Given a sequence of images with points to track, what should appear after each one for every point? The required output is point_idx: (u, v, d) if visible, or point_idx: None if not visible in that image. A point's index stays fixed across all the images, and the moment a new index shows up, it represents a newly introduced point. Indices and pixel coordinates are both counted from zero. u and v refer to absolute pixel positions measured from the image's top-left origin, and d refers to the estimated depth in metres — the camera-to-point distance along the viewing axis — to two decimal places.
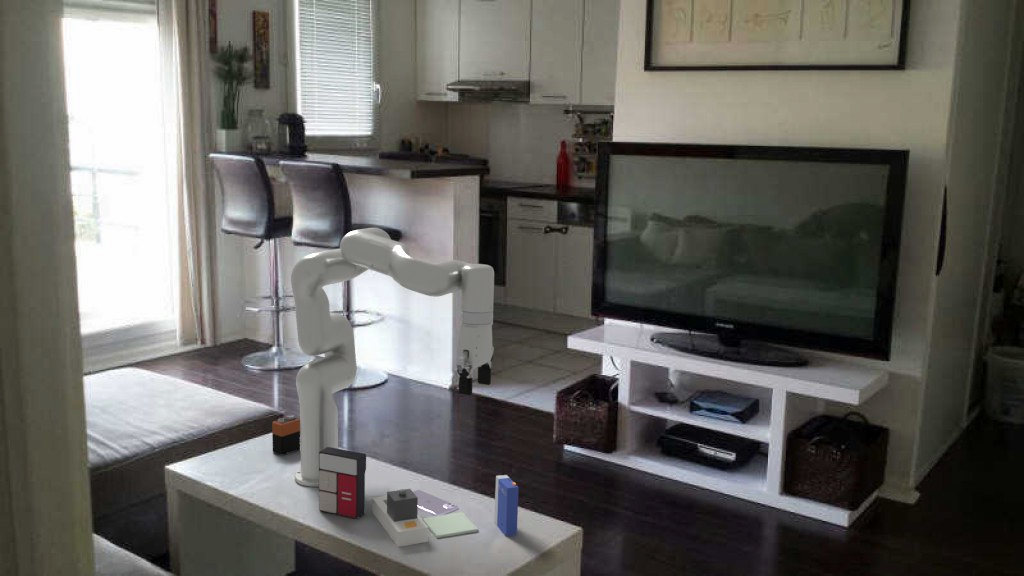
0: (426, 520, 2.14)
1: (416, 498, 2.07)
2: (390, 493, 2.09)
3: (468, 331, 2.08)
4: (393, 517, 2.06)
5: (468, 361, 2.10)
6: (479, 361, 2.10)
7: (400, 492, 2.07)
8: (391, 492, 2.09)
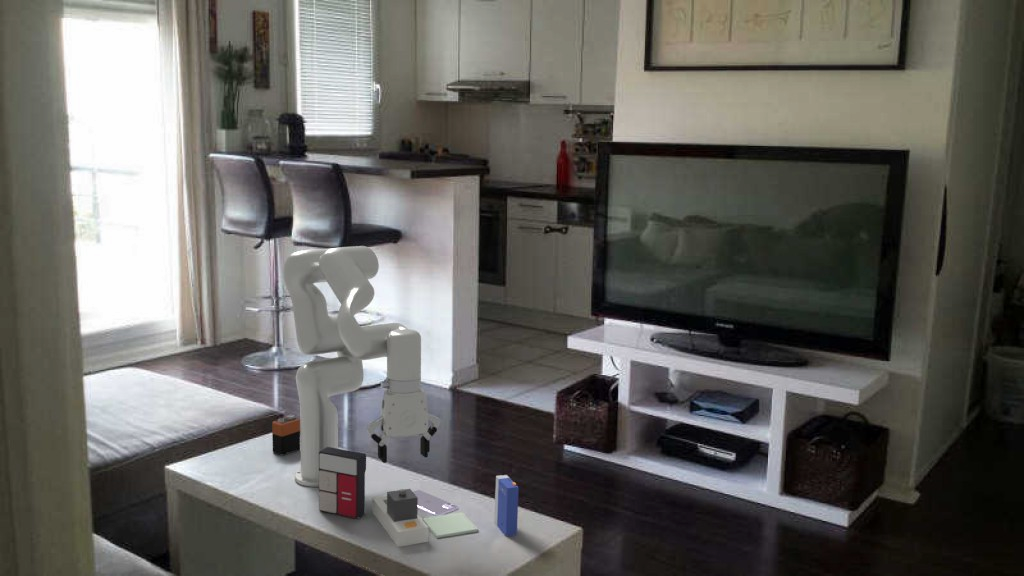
0: (426, 520, 2.14)
1: (416, 498, 2.07)
2: (390, 493, 2.09)
3: None
4: (393, 517, 2.06)
5: None
6: None
7: (400, 492, 2.07)
8: (391, 492, 2.09)
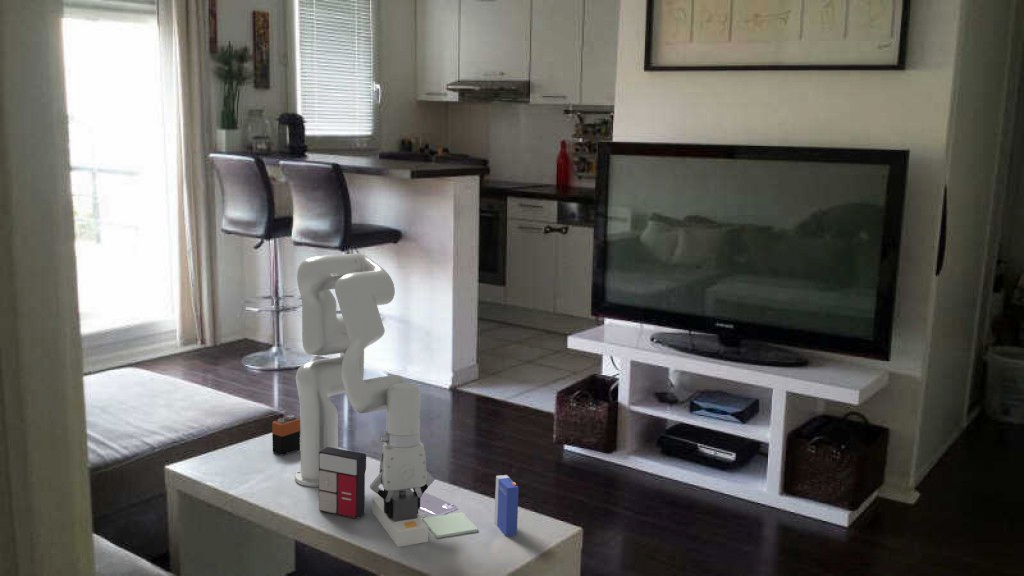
0: (426, 520, 2.14)
1: (416, 498, 2.07)
2: None
3: None
4: (393, 517, 2.06)
5: None
6: None
7: (400, 492, 2.07)
8: None
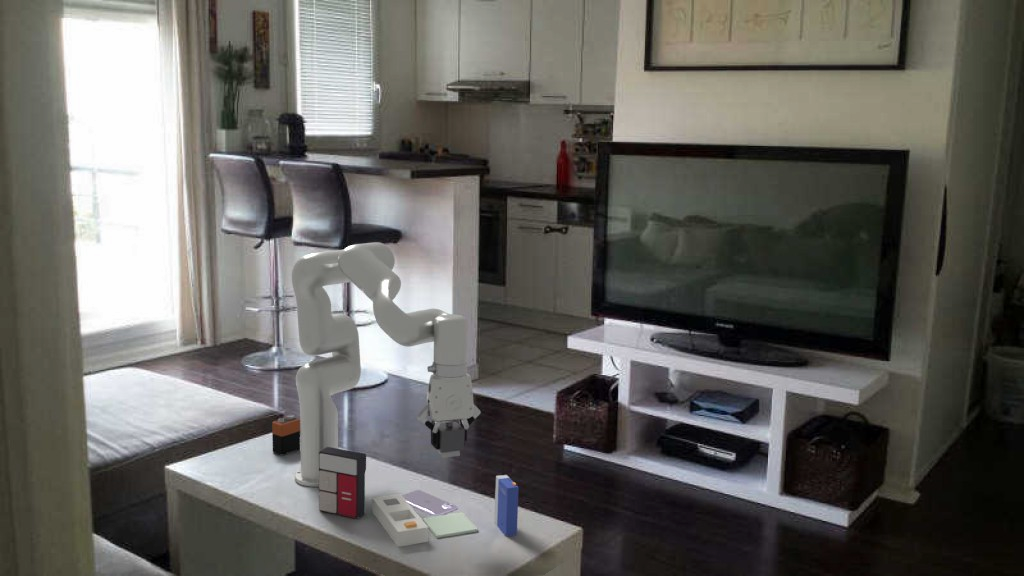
0: (426, 520, 2.14)
1: (463, 429, 2.07)
2: None
3: None
4: (440, 448, 2.06)
5: None
6: None
7: (446, 423, 2.07)
8: None
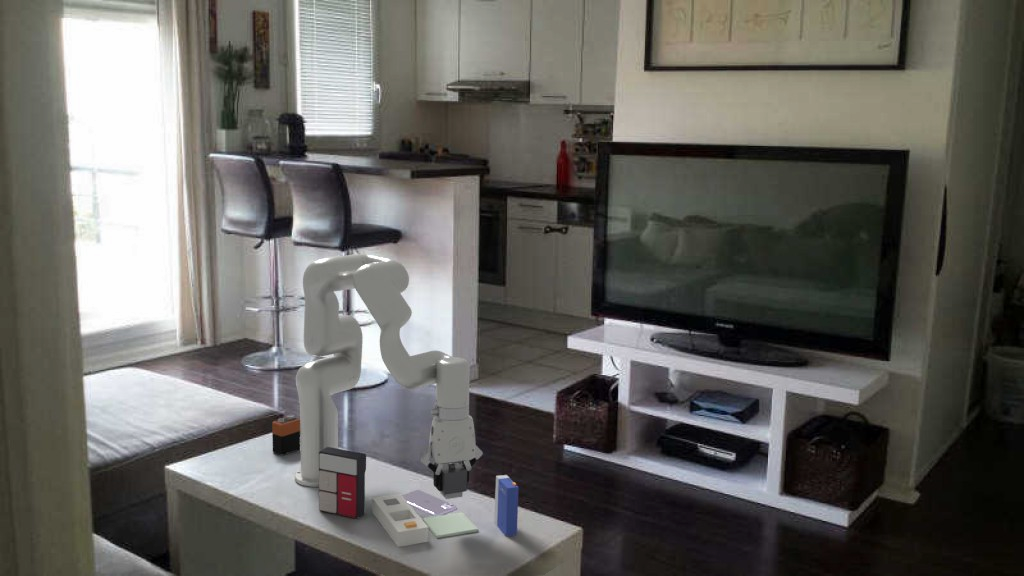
0: (426, 520, 2.14)
1: (466, 471, 2.09)
2: None
3: None
4: (443, 490, 2.08)
5: None
6: None
7: (449, 465, 2.09)
8: None
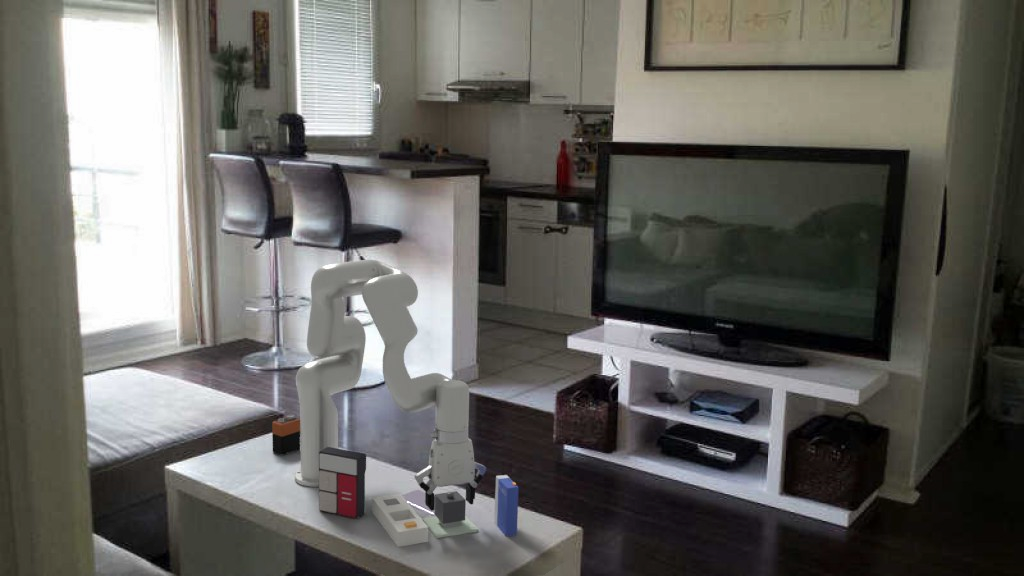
0: (426, 520, 2.14)
1: (464, 500, 2.10)
2: (438, 495, 2.12)
3: None
4: (442, 519, 2.09)
5: None
6: None
7: (448, 494, 2.10)
8: (439, 495, 2.12)
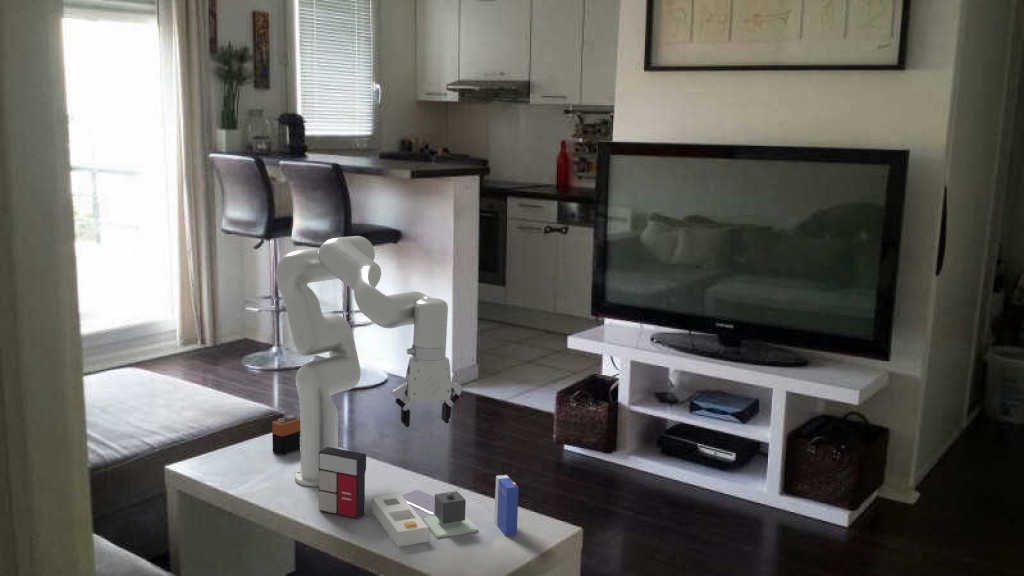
0: (426, 520, 2.14)
1: (464, 500, 2.10)
2: (438, 495, 2.12)
3: None
4: (442, 519, 2.09)
5: None
6: None
7: (448, 494, 2.10)
8: (439, 495, 2.12)
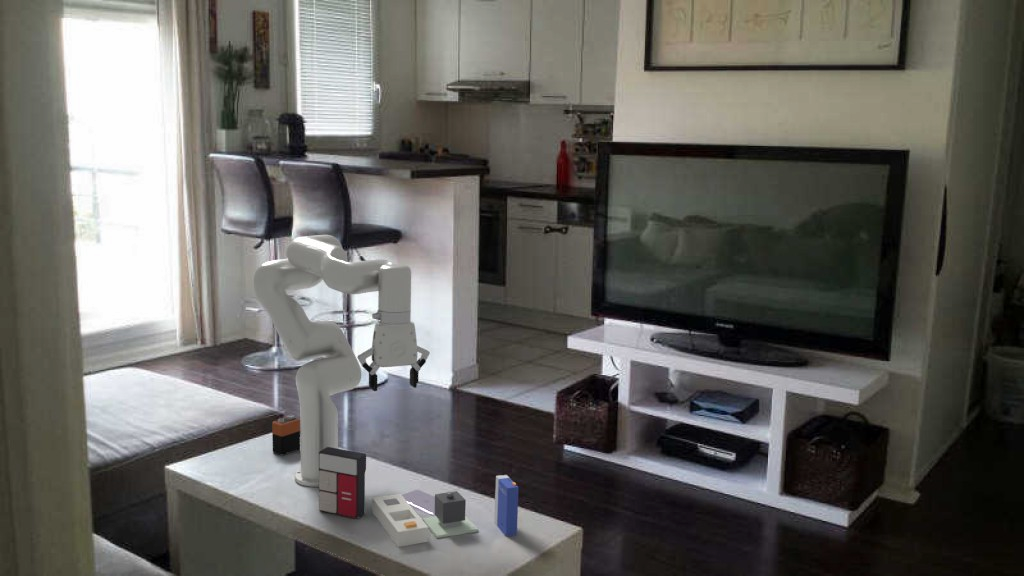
0: (426, 520, 2.14)
1: (464, 500, 2.10)
2: (438, 495, 2.12)
3: None
4: (442, 519, 2.09)
5: None
6: None
7: (448, 494, 2.10)
8: (439, 495, 2.12)
